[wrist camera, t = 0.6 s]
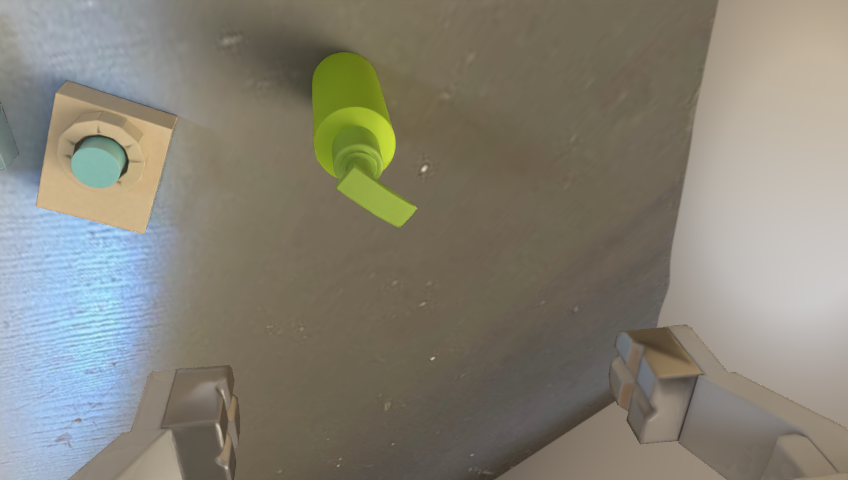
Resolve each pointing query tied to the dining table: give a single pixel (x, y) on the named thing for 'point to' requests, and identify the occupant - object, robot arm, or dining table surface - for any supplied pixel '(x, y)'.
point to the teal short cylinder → (98, 162)
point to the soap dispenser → (356, 134)
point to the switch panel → (6, 142)
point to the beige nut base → (124, 124)
